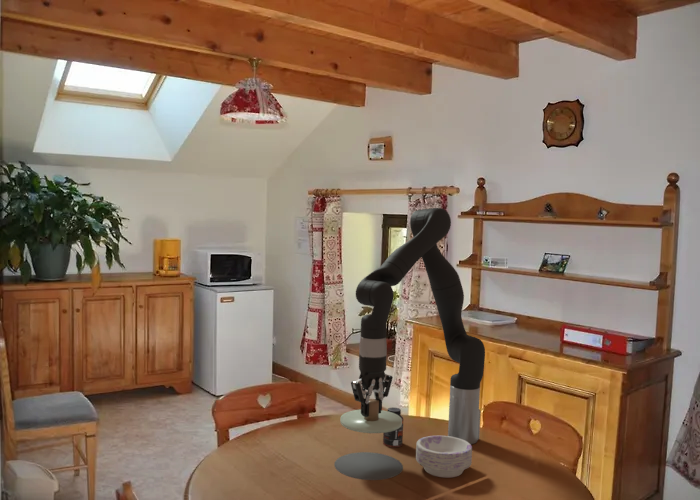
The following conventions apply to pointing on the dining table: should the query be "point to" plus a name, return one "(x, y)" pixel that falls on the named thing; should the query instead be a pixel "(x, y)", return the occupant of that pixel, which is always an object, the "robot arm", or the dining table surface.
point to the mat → (368, 466)
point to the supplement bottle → (394, 433)
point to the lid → (371, 420)
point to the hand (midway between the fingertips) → (371, 414)
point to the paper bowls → (444, 455)
